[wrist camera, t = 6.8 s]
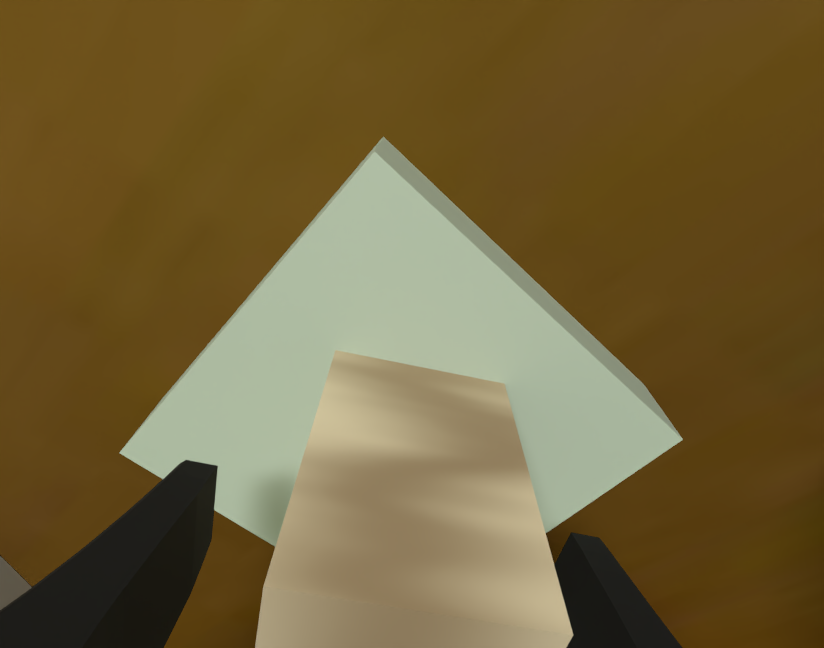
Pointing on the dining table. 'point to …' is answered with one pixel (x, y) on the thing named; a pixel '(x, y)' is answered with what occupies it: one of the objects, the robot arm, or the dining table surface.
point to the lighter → (10, 584)
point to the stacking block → (399, 353)
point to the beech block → (412, 521)
